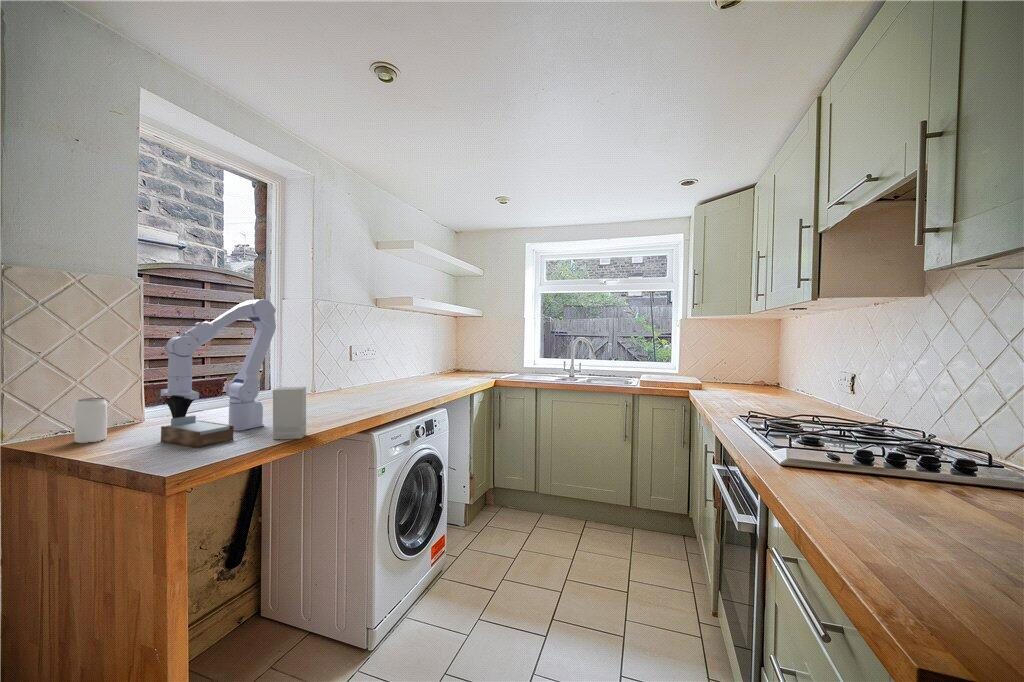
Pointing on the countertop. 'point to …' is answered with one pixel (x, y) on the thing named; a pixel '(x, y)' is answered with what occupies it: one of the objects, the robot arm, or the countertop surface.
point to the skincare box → (289, 412)
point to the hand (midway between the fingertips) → (178, 421)
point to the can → (90, 420)
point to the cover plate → (196, 425)
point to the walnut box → (195, 436)
